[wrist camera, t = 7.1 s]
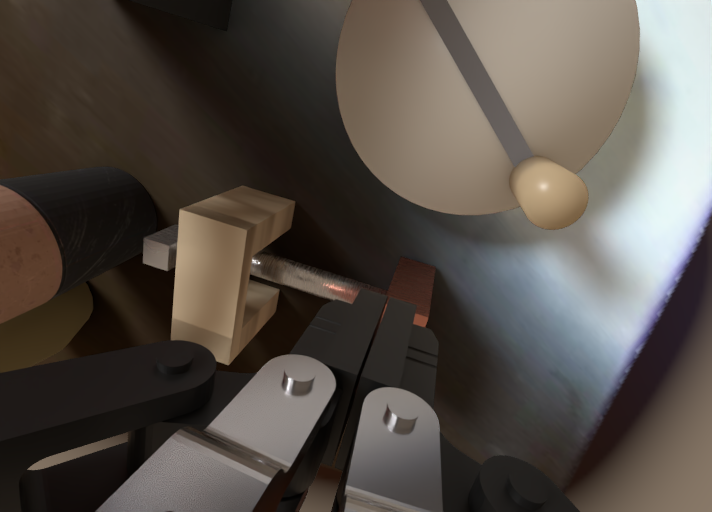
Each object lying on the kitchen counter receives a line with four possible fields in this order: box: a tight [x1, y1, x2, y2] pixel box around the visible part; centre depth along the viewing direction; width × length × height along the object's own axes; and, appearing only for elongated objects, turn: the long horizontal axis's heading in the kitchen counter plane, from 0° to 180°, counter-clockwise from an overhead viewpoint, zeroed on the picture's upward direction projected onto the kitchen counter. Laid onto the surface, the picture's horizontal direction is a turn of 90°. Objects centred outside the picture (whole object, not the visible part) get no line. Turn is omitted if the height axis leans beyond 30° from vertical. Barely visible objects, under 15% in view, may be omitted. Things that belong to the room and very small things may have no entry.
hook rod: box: [143, 225, 436, 327], centre depth 27 cm, size 18×6×7 cm, turn 76°
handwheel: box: [336, 0, 640, 230], centre depth 18 cm, size 14×14×6 cm
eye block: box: [171, 186, 296, 365], centre depth 27 cm, size 4×9×7 cm, turn 166°
